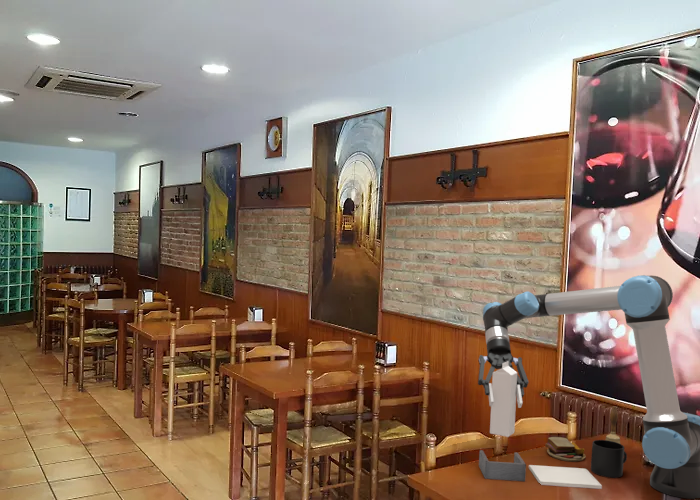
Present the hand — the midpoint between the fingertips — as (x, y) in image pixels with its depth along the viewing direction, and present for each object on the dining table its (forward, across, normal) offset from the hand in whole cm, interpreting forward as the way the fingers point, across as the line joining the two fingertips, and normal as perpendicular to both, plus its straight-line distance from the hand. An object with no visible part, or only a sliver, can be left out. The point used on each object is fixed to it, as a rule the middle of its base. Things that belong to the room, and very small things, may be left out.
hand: (506, 404), depth 193 cm
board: (+14, -19, -17) cm, 29 cm away
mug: (+9, -36, -23) cm, 44 cm away
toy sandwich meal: (-1, -26, -33) cm, 42 cm away
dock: (+13, 0, -18) cm, 22 cm away
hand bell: (-7, -45, -39) cm, 60 cm away
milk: (+5, 0, -9) cm, 10 cm away
